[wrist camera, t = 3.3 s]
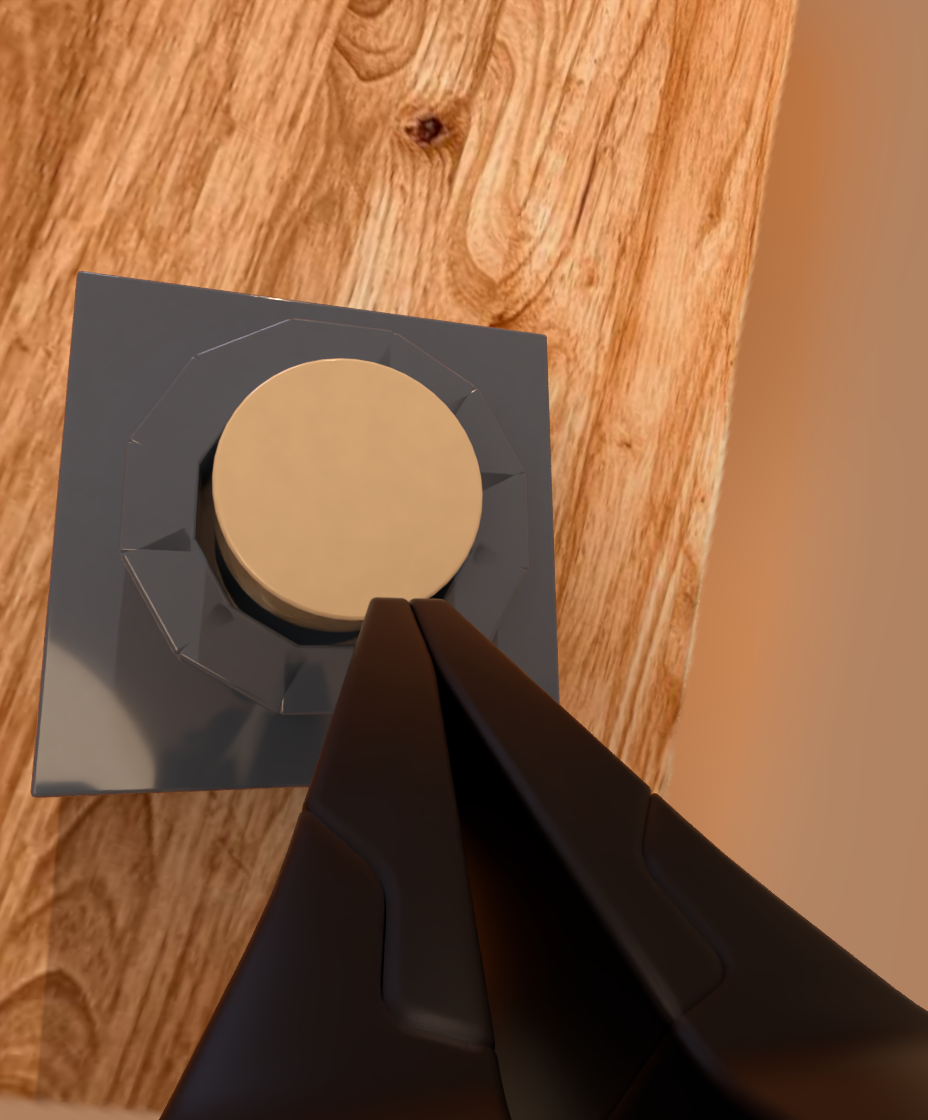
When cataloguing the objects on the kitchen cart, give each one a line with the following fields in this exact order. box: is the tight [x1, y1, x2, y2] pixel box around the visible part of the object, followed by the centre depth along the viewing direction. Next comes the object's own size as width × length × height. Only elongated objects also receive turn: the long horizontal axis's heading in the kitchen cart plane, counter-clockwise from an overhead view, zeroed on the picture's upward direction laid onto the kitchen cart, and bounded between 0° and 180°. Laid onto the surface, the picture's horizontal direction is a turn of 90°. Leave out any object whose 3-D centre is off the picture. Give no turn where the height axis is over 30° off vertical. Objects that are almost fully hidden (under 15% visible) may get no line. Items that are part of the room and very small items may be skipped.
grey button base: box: [31, 271, 559, 798], centre depth 17 cm, size 10×10×7 cm
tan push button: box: [212, 358, 483, 633], centre depth 14 cm, size 4×4×2 cm
